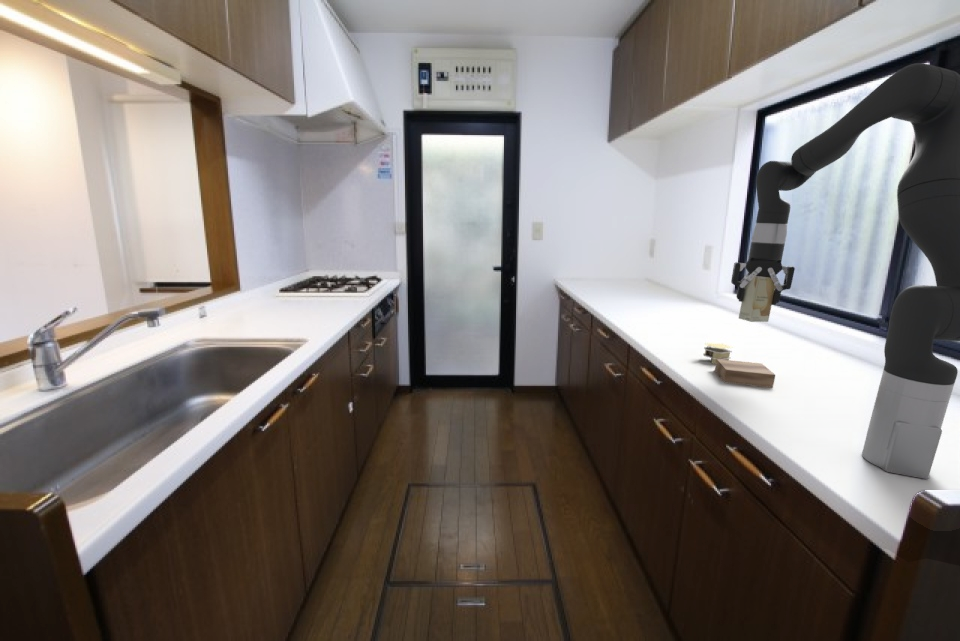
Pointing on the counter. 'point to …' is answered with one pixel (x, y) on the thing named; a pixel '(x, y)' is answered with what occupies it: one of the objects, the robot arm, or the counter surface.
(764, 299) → the skincare box
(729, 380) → the walnut block
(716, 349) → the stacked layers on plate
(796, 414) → the counter surface
